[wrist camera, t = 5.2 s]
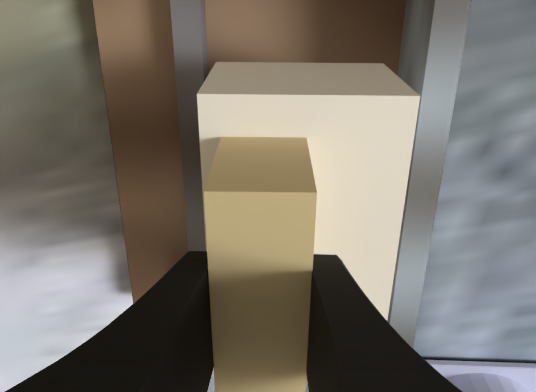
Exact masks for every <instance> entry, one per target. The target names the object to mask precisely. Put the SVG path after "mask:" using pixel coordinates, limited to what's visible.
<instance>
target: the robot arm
mask: <svg viewBox="0 0 536 392" xmlns="http://www.w3.org/2000/svg"><path fill="white" fill-rule="evenodd" d="M213 367H214V362H213V345H212V327H211V310H210V293H209V275H208V258H207V251H188V252H187V253H186V254H185V255H184V256H183V257H182V258H181V259H180V260H179V261H178V262H177V263H176V264H175V265H174V266H173V267H172V268H171V269H170V270H169V271H168V272H167V273H166V274H165V275H164V276H163V277H162V278H160V279H159V280H158V281H157V282H156V283H155V284H154V285H153V286H152V287H151V288H150V289H149V290H148V291H147V292H146V293H145V294H144V295H142V296H141V297H140V298H139V299H138V300H137V301H136V302H135V303H134V304H133V305H132V306H130V307H129V308H128V309H127V310H126V311H124V312H123V313H122V314H121V315H120V316H118V317H117V318H116V319H115V320H114V321H112V322H111V323H110V324H109V325H108V326H106V327H105V328H104V329H102V330H101V331H100V332H98V333H97V334H96V335H94V336H93V337H92V338H90V339H89V340H88V341H86V342H85V343H83V344H82V345H80V346H79V347H77V348H76V349H74V350H73V351H72V352H70V353H69V354H67V355H66V356H64V357H63V358H61V359H59V360H58V361H56V362H55V363H53V364H51V365H50V366H48V367H46V368H45V369H43V370H41V371H40V372H38V373H36V374H34V375H33V376H31V377H29V378H28V379H26V380H24V381H23V382H21V383H19V384H17V385H16V386H14V387H12V388H11V389H9V390H7V391H5V392H207V390H208V386H209V383H210V379H211V375H212V371H213ZM306 372H307V380H308V387H309V392H536V363H507V362H477V361H447V360H424V359H423V358H422V357H421V356H420V355H419V354H418V353H417V352H416V351H415V350H414V349H413V348H412V347H411V346H410V345H409V344H408V343H407V342H406V341H405V340H404V339H403V338H402V337H401V336H400V335H399V334H398V333H397V331H396V330H395V329H394V328H393V327H392V326H391V325H390V324H389V323H388V321H387V320H386V319H385V318H384V317H383V316H382V315H381V313H380V312H379V311H378V310H377V308H376V307H375V306H374V305H373V303H372V302H371V301H370V300H369V298H368V297H367V296H366V295H365V293H364V292H363V291H362V289H361V288H360V287H359V285H358V284H357V282H356V281H355V280H354V278H353V277H352V275H351V274H350V272H349V271H348V269H347V268H346V266H345V265H344V263H343V262H342V260H341V259H340V258H339V257H338V256H337V255H327V254H314V256H313V271H312V279H311V296H310V314H309V331H308V349H307V366H306Z"/></svg>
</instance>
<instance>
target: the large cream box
mask: <svg viewBox="0 0 536 392" xmlns="http://www.w3.org/2000/svg"><path fill="white" fill-rule="evenodd" d="M419 101H420V95H419V94H417V93H416V92H415V91H414V90H413V89H412V88H411V87H410V86H408V85H407V84H406V83H405V82H404V81H403V80H402V79H400V78H399V77H398V76H397V75H396V74H395V73H394V72H392V71H391V70H390V69H389V68H388V67H387V66H386V65H385V64H383V63H292V62H216V63H215V65H214V66H213V68H212V70H211V71H210V73H209V75H208V76H207V78H206V80H205V81H204V83H203V85H202V86H201V88H200V89H199V91H198V93H197V106H198V123H199V140H200V157H201V174H202V191H203V208H204V225H205V242H206V251H207V258H208V275H209V293H210V310H211V327H212V345H213V362H214V379H215V392H306V379H307V372H306V366H307V349H308V331H309V314H310V296H311V279H312V271H313V256H314V254H327V255H337V256H338V257H339V258H340V259H341V260H342V262H343V263H344V265H345V266H346V268H347V269H348V271H349V272H350V274H351V275H352V277H353V278H354V280H355V281H356V282H357V284H358V285H359V287H360V288H361V289H362V291H363V292H364V293H365V295H366V296H367V297H368V298H369V300H370V301H371V302H372V303H373V305H374V306H375V307H376V308H377V310H378V311H379V312H380V313H381V315H382V316H383V317H384V318H385V319H386V320H388V313H389V306H390V299H391V292H392V286H393V279H394V272H395V265H396V258H397V251H398V245H399V238H400V231H401V224H402V217H403V210H404V204H405V197H406V190H407V183H408V176H409V169H410V163H411V156H412V149H413V142H414V135H415V129H416V122H417V115H418V108H419Z"/></svg>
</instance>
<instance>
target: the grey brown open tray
mask: <svg viewBox="0 0 536 392" xmlns="http://www.w3.org/2000/svg"><path fill="white" fill-rule="evenodd" d="M471 2H472V0H93V8H94V15H95V23H96V30H97V37H98V45H99V52H100V60H101V67H102V74H103V82H104V89H105V97H106V104H107V111H108V119H109V126H110V134H111V141H112V148H113V156H114V163H115V171H116V178H117V185H118V193H119V200H120V208H121V215H122V222H123V230H124V237H125V245H126V252H127V259H128V267H129V274H130V282H131V289H132V296H133V304H134V303H135V302H136V301H137V300H138V299H139V298H140V297H141V296H142V295H144V294H145V293H146V292H147V291H148V290H149V289H150V288H151V287H152V286H153V285H154V284H155V283H156V282H157V281H158V280H159V279H160V278H162V277H163V276H164V275H165V274H166V273H167V272H168V271H169V270H170V269H171V268H172V267H173V266H174V265H175V264H176V263H177V262H178V261H179V260H180V259H181V258H182V257H183V256H184V255H185V254H186V253H187V252H188V251H206V242H205V225H204V208H203V191H202V174H201V157H200V140H199V123H198V106H197V93H198V91H199V89H200V88H201V86H202V85H203V83H204V81H205V80H206V78H207V76H208V75H209V73H210V71H211V70H212V68H213V66H214V65H215V63H216V62H292V63H383V64H385V65H386V66H387V67H388V68H389V69H390V70H391V71H392V72H394V73H395V74H396V75H397V76H398V77H399V78H400V79H402V80H403V81H404V82H405V83H406V84H407V85H408V86H410V87H411V88H412V89H413V90H414V91H415V92H416V93H417V94H419V95H420V101H419V108H418V115H417V122H416V129H415V135H414V142H413V149H412V156H411V163H410V169H409V176H408V183H407V190H406V197H405V204H404V210H403V217H402V224H401V231H400V238H399V245H398V251H397V258H396V265H395V272H394V279H393V286H392V292H391V299H390V306H389V313H388V320H387V321H388V323H389V324H390V325H391V326H392V327H393V328H394V329H395V330H396V331H397V333H398V334H399V335H400V336H401V337H402V338H403V339H404V340H405V341H406V342H407V343H408V344H409V345H410V346H411V347H412V348H413V343H414V337H415V332H416V326H417V320H418V314H419V308H420V302H421V296H422V290H423V284H424V279H425V273H426V267H427V261H428V255H429V249H430V243H431V237H432V232H433V226H434V220H435V214H436V208H437V202H438V196H439V190H440V184H441V179H442V173H443V167H444V161H445V155H446V149H447V143H448V137H449V132H450V126H451V120H452V114H453V108H454V102H455V96H456V90H457V84H458V79H459V73H460V67H461V61H462V55H463V49H464V43H465V37H466V32H467V26H468V20H469V14H470V8H471Z"/></svg>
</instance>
